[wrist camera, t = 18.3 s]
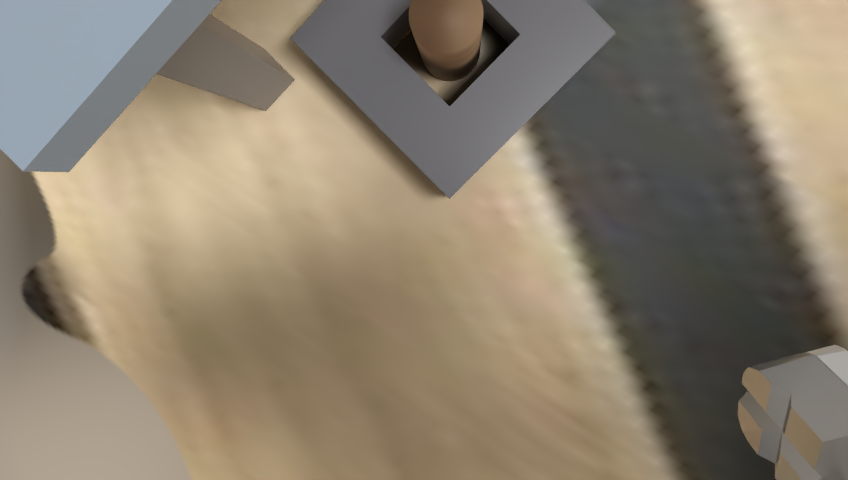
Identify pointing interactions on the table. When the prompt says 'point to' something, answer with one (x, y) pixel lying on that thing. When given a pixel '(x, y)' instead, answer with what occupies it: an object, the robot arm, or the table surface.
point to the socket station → (276, 72)
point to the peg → (447, 35)
